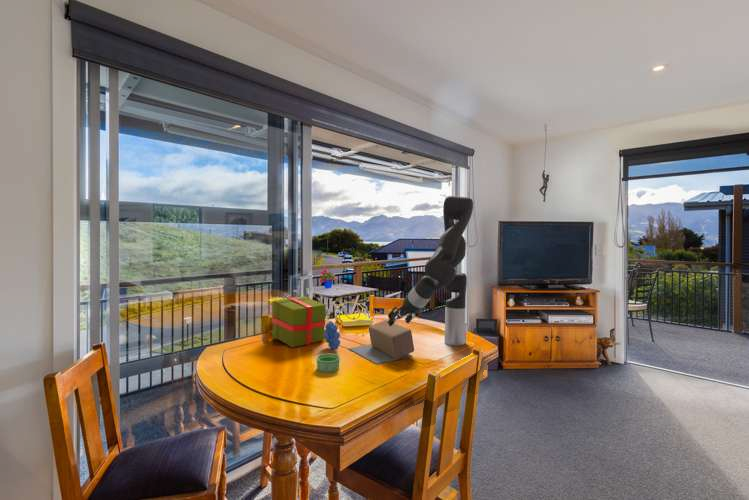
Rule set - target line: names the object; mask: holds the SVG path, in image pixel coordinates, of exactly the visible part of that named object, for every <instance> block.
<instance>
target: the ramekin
mask: <svg viewBox="0 0 749 500" xmlns="http://www.w3.org/2000/svg"><path fill="white" fill-rule="evenodd" d="M315 359H316V369H317V370H318V371H319V372H322V373H333V372H336V371H337V370H339V368H340V359H341V357H340V355H339V354H336V353H322V354H318V355H317V356H316V357H315Z"/></svg>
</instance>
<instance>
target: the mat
mask: <svg viewBox="0 0 749 500" xmlns="http://www.w3.org/2000/svg"><path fill="white" fill-rule="evenodd" d="M348 350H350V351H351V352H353V353H355V354H357V355H359V356H361V357H362V358H365V359H366V360H367V361H369V362H372V363H374V364H375V365H379V364H384V363H385V364H386V363H389V362H392V361H393V360H394V361H397V359H394V358H393V357H391V356H389V355H387V354H385V353H383V352H381V351H379V350H378V349H376V348H374V347H372V345H371V343H370V344H365V345H359V346H354V347H349V348H348ZM406 357H407V358H411V357H413V355H412V354H411V353H409V354H407V355H405V356H403V357H400V358H398V360H401V359H402V358H403V359H407V358H406Z"/></svg>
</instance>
